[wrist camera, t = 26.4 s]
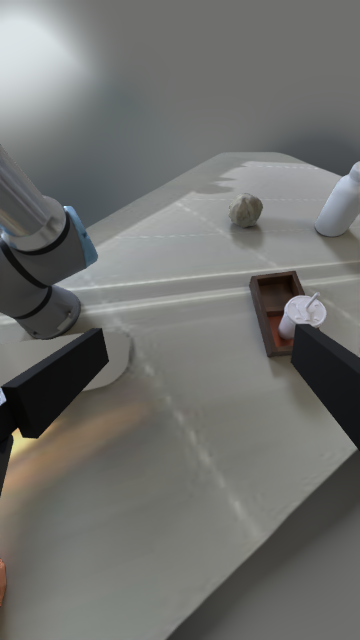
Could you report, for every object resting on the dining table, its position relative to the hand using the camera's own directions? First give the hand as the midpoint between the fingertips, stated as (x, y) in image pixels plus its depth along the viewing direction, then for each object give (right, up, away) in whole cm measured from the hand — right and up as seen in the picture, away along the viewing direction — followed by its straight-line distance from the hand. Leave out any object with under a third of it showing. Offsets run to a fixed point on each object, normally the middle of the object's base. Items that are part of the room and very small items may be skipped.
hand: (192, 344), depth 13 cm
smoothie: (+22, -1, +29) cm, 36 cm away
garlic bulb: (+19, +32, +47) cm, 60 cm away
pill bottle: (+41, +28, +41) cm, 64 cm away
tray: (+22, +3, +31) cm, 38 cm away
